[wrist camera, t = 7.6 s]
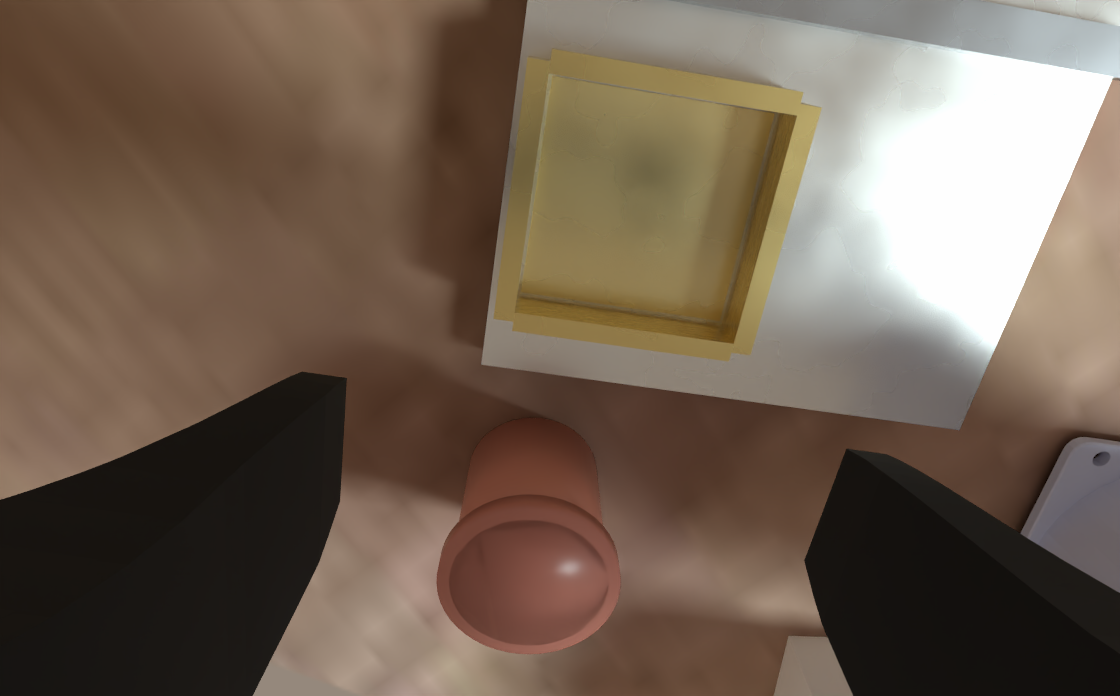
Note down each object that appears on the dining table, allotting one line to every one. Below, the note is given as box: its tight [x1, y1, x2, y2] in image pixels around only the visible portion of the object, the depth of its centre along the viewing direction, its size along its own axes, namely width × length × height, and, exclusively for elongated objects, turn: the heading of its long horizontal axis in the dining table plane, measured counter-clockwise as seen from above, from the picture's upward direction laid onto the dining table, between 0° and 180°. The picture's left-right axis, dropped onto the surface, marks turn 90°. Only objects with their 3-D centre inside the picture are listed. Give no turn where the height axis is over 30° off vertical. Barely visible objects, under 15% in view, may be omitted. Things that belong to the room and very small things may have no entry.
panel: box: [481, 0, 1120, 430], centre depth 17 cm, size 14×18×2 cm
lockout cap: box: [437, 418, 621, 654], centre depth 20 cm, size 5×5×5 cm
